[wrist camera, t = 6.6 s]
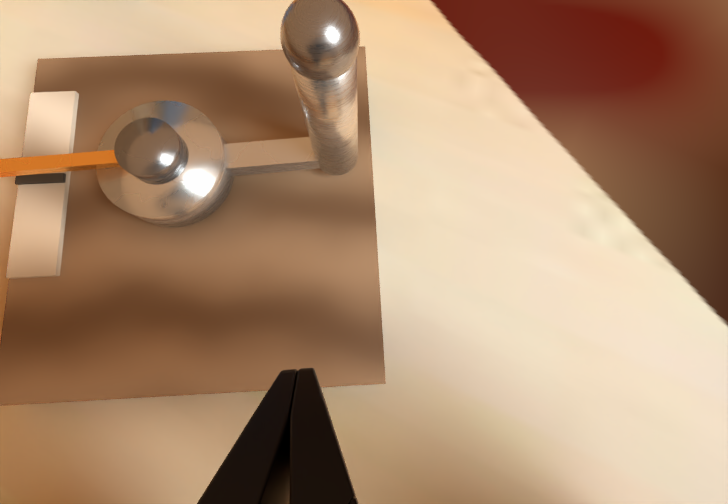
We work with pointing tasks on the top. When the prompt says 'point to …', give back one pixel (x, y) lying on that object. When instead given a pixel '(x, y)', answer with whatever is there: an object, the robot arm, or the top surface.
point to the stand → (187, 247)
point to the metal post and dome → (206, 145)
